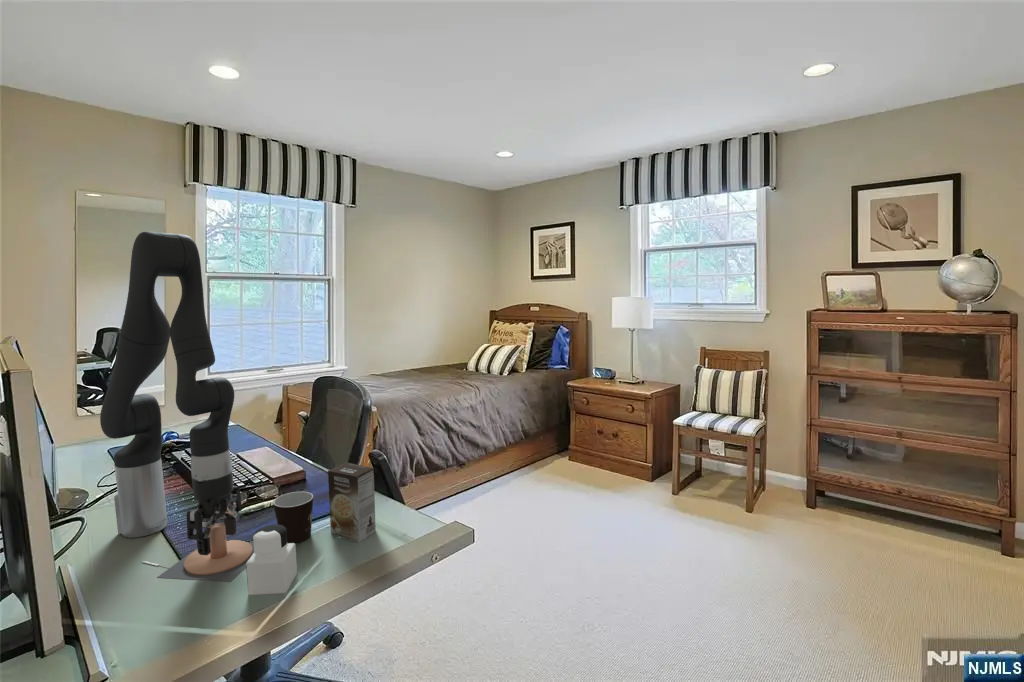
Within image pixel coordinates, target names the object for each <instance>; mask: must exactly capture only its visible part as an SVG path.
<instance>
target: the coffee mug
mask: <svg viewBox="0 0 1024 682" xmlns="http://www.w3.org/2000/svg"><path fill="white" fill-rule="evenodd" d="M313 502H314V494H313V493H311V492H309V491H293V492H288V493H284V494H282V495H279V496H277V497H276V498H274V499H273V503H272V505H273V508H274V514H275V519H276V523H277V524H276V525H283V526H284V527H286V529H287V543H295V545H298V544H302V543H304V542H306V541H307V540H309V539H310V538H311V535H312V521H313V519H312V518H313V506H314V503H313Z"/></svg>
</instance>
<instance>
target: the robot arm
mask: <svg viewBox="0 0 1024 682" xmlns="http://www.w3.org/2000/svg"><path fill="white" fill-rule="evenodd" d="M131 249H132V250H131V256H130V257H131V258H130V270H129V282H128V284H129V285H128V290H127V291H128V293H127V298H126V299H127V300H126V305H125V309H124V315H123V320H122V323H121V327H120V330H119V331H120V332H119V337H118V341H117V348H116V353H115V354H116V355H115V359H114V360H115V361H114V365H113V371H112V374H111V378H110V381H109V384H108V387H107V390H106V393H105V396H104V399H103V402H102V404H101V408H100V416H99V417H100V418H99V419H100V420H99V421H100V422H99V423H100V428H101V430H102V432H103V434H104V435H105V436H106V437H108V438H109V439H112V440H113V439H114V440H116V439H123V438H127V437H132V436H134V437H133V438H132V440H130V441H129V443H127V444H126V445H125V446H123V447H122V448H120V449H118V450H117V451H116V452H115V453H114V455H113V464H114V472H115V482H116V489H117V494H115V495H114V497H113V500H114V508H115V519H116V526H117V534H119V535H120V534H121V535H122V537H124V538H130V539H131V538H141V537H146V536H149V535H153V534H155V533H158V532H161V531H162V530H163V529H165V528H166V527H167V525H168V516H167V505H166V495H165V494H166V493H165V485H164V484H165V483H164V474H163V463H162V453H161V451H162V448H163V437H162V412H161V408H160V407H161V406H160V403H159V402H158V400H157V398H156V397H155V396H154V395H153V394H150V393H139V394H136V392H137V391H138V390H139V388H140V387H141V385H142V384H143V383H144V382H145V380H146V379H148V378H149V377H150V375H152V373H154V371H155V370H156V369H157V368H158V367H159V366H160V365H161V364H162V362H163V361H164V359H165V357H166V356H167V352H168V347H169V344H170V342H171V346H172V350H173V354H174V357H175V361H176V387H175V388H176V389H175V404H176V406H177V407H176V408H177V409H178V411H180V413H182V414H183V415H185V416H187V417H196V416H199V415H203V414H208V413H210V414H209V416H208V417H207V419H206V420H205V421H202V422H200V423H198V424H196V425H194V426H192V427H191V429H190V430H189V446H190V447H189V448H190V455H191V456H190V472H191V483H192V495H193V497H194V498H195V499H196V500H197V502H198V505H197V508H195V509H194V510H190V509H189V510H187V512H186V526H187V527H186V528H187V529H186V530H187V533H186V534H187V539H188V541H189V540H190V541H191V540H194V541H196V546H197V547H196V548H198V553H199V554H200V555H208V554H210V553H211V549H210V537H209V533H210V530H211V528H212V527H214V525H215V524H216V521H217V520H218V519H219V518H221V517H224V519H223V521H224V522H223V524H225V529H226V536H234V535H235V534H236V533H237V524H236V522H237V521H236V518H237V517H238V512H242V510H243V506H242V498H241V497H242V496H241V489H240V487H239V486H236V485H235V486H234V477H233V466H232V465H233V464H232V456H231V451H230V445H229V444H230V442H229V424H230V420H231V414H232V410H233V406H234V402H235V389H234V387H233V384H232V383H231V381H229V379H227V378H226V377H221V376H217V377H211V378H206V379H198V380H196V376H197V373H198V372H199V371H202V370H204V369H207V368H210V367H211V366H213V365H214V364H215V362H216V356H215V352H214V347H213V344H212V340H211V337H210V332H209V329H208V324H207V318H206V317H207V316H206V310H205V309H206V308H205V301H204V300H205V299H204V286H203V275H202V274H203V273H202V265H201V258H200V253H199V249H198V246H197V244H196V241H195V240H194V239H193V238H192V237H191V236H189V235H186V234H182V233H170V232H160V231H159V232H158V231H142V232H140V233H139V234H138V235H137V236H136V238H135V239H134V242H133V245H132V248H131ZM158 277H169V278H170V277H171V278H172V277H173V278H174V277H175V278H176V277H177V278H178V280H179V282H180V285H181V296H180V300H179V303H178V306H177V308H176V311H175V313H174V316H173V317H172V321H171V323H169V320H168V319H167V318H168V317H167V316H166V315H165V313H164V311H163V310H162V308H161V307H160V304H159V303H158V301H157V298H156V295H155V285H156V281H157V279H158ZM234 503H235V505H234ZM204 520H205V521H204ZM204 527H205V529H204V531H203V528H204Z"/></svg>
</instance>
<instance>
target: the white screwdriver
mask: <svg viewBox="0 0 1024 682" xmlns="http://www.w3.org/2000/svg"><path fill="white" fill-rule="evenodd" d="M141 563H142V564H148V565H152V566H156V567H160V568H163V569H166V570H168V569H169V568H170V567H169V568H168V567H166V566H160V563H155V562H149V561H146V560H143V561H141Z"/></svg>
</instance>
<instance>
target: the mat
mask: <svg viewBox="0 0 1024 682" xmlns="http://www.w3.org/2000/svg"><path fill="white" fill-rule="evenodd" d="M227 540H228V539H227V538H226V541H227ZM249 541H250V542H248V543H250V544H251V545H252V551H253V552H252V555H253V554H254V542H253V540H249ZM196 550H198V548H197V547H196V548H195V549H194V550H192V551H191V552H190V553H188V554H187V555H186V556H184V557H183V558H181V559H180V560H178V562H176V563H175V564H173V565H172V566H170V567H169V569H166V570H165V571H164V572H163V573H161V574H160V575H158V576H157V577H156V578H157V579H172V580H173V579H174V580H175V579H176V580H189V581H208V582H223V583H231V582H232V581H233V580H234V579H235V578H237V577H238V576H239V575H240V574H241V573H242V572H243V571H245V569H246V563H247V561H248V560H249V559H250V558H249V559H248V560H247V561H246V562H244V563H243V564H241V565H239V566H238V567H235V568H233V569H231V570H228V571H225V572H222V573H218V574H213V575H192V574H189V573H187V572H186V571H185V569H184V561H185V559H186V558H187V557H188V556H189V555H190V554H191V553H193V552H194V551H196ZM252 555H251V556H252Z"/></svg>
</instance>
